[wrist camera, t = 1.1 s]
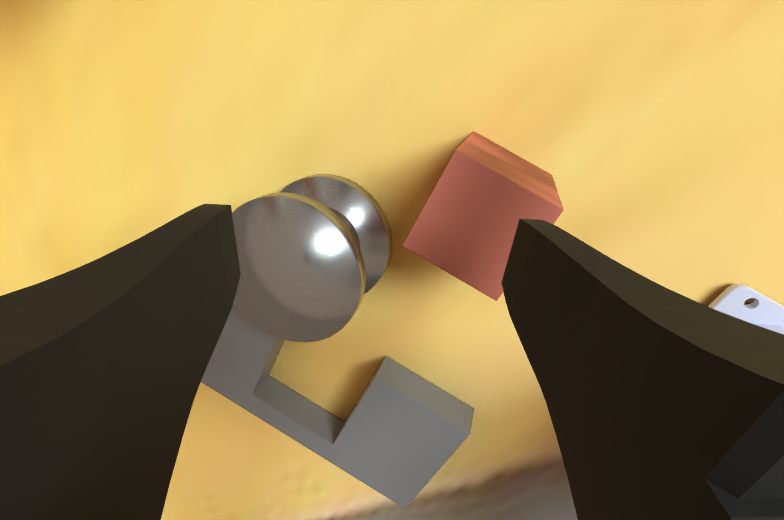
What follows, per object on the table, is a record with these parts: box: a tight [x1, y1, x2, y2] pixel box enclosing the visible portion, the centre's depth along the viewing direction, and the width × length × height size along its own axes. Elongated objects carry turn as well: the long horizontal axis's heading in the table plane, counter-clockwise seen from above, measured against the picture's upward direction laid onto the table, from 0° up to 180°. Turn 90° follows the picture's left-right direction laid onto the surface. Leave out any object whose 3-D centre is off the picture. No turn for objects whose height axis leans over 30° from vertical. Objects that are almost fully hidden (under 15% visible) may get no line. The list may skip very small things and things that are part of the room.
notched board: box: [201, 303, 474, 508], centre depth 26 cm, size 18×8×2 cm, turn 63°
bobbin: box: [232, 174, 392, 342], centre depth 21 cm, size 7×7×5 cm
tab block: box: [403, 132, 563, 301], centre depth 17 cm, size 4×4×6 cm
